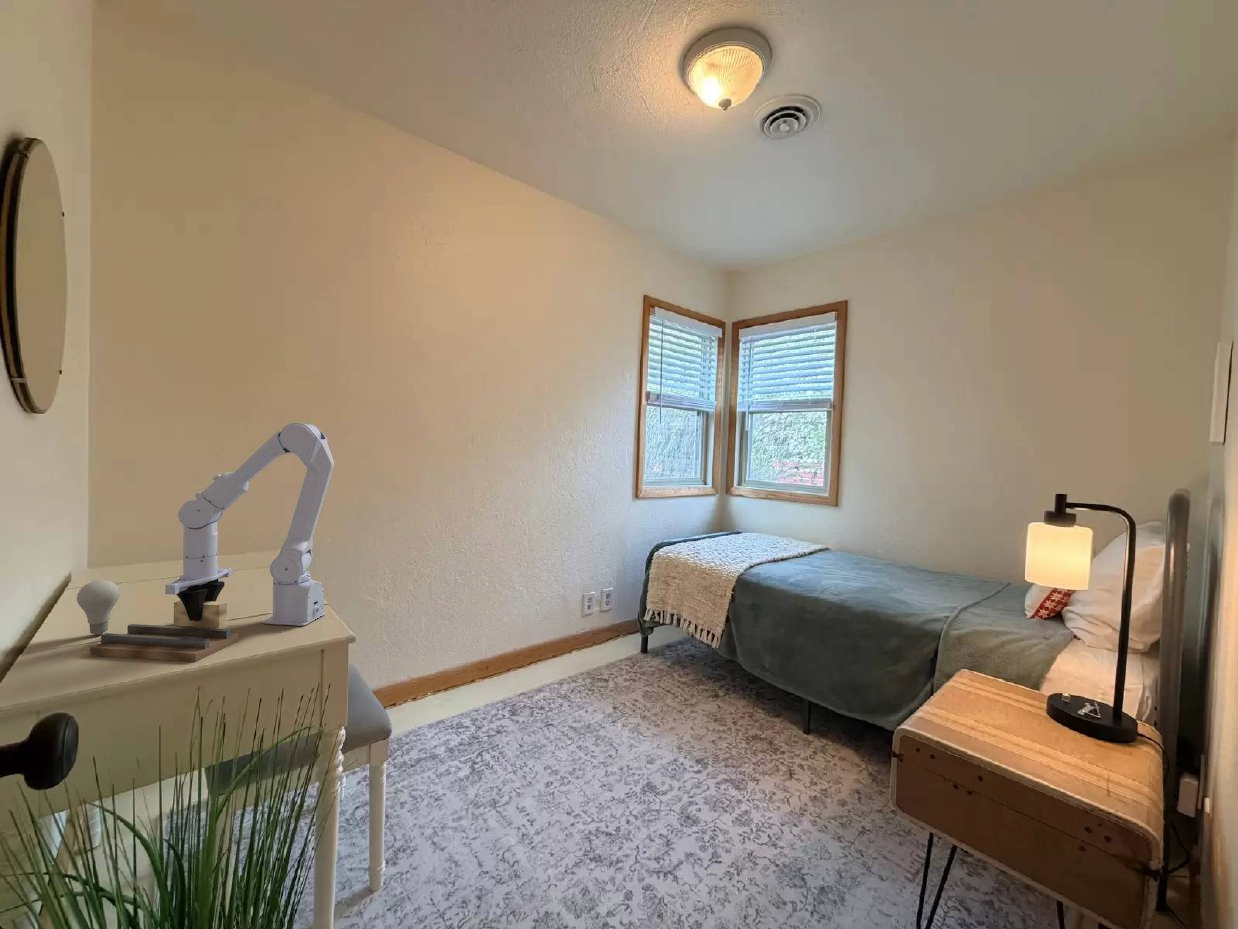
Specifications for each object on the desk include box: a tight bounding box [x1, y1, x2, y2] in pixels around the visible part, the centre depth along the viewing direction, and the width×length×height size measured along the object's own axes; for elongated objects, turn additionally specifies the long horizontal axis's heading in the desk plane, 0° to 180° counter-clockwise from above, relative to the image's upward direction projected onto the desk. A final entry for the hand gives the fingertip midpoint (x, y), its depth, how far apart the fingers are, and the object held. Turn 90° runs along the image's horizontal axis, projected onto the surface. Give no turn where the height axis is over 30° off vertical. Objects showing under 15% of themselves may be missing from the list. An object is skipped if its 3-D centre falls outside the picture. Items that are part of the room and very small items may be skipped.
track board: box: [89, 623, 239, 663], centre depth 99 cm, size 20×10×3 cm, turn 88°
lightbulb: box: [76, 579, 121, 636], centre depth 104 cm, size 6×6×11 cm
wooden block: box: [173, 599, 228, 629], centre depth 111 cm, size 10×2×5 cm, turn 88°
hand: (200, 618), depth 111 cm, fingers closed on wooden block, 2 cm apart
